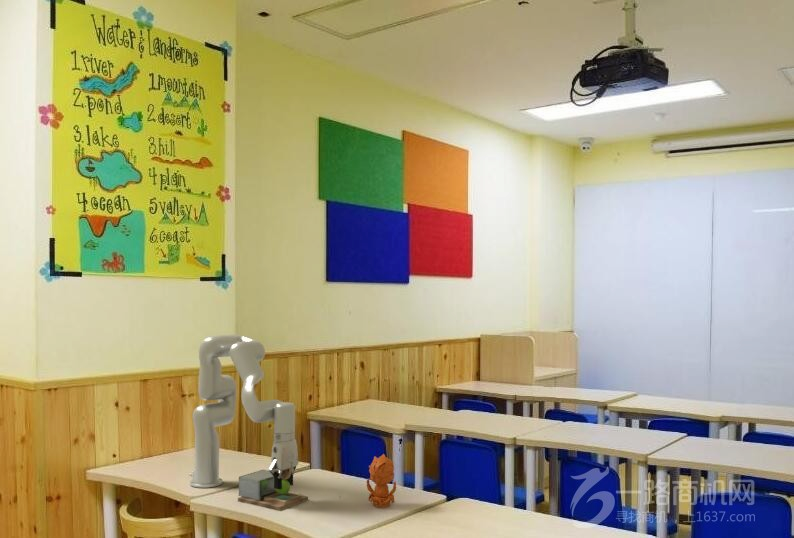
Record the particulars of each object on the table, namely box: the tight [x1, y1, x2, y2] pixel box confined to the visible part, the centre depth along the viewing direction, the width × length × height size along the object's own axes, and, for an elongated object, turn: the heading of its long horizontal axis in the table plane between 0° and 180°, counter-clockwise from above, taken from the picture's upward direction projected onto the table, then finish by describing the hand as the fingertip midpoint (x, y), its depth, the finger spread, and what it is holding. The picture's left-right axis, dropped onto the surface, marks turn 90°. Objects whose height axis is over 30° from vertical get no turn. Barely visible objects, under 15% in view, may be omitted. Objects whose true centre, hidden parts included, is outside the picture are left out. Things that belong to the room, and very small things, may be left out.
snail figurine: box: [276, 462, 293, 495], centre depth 267 cm, size 5×6×12 cm
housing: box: [238, 469, 276, 501], centre depth 273 cm, size 10×13×7 cm
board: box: [237, 491, 309, 511], centre depth 270 cm, size 20×16×2 cm
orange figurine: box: [366, 453, 397, 509], centre depth 266 cm, size 11×11×18 cm
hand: (283, 486), depth 267 cm, fingers closed on snail figurine, 5 cm apart
